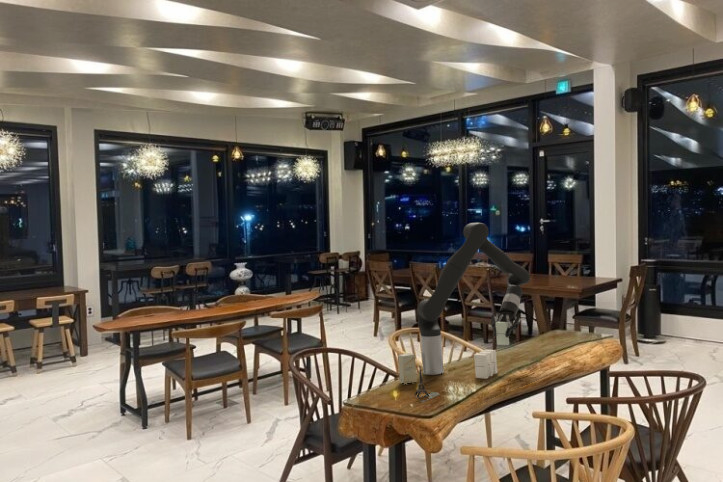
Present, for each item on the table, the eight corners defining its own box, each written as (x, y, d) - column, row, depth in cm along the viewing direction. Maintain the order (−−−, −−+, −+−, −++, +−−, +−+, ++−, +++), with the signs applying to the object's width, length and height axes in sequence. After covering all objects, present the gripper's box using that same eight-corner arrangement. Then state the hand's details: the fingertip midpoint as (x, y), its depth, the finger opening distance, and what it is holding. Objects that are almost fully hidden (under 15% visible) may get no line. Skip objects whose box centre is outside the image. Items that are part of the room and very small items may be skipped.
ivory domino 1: (486, 378, 239) (484, 355, 239) (475, 377, 242) (474, 354, 242) (488, 377, 240) (486, 354, 241) (477, 376, 244) (476, 353, 244)
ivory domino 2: (491, 376, 243) (489, 353, 243) (480, 375, 246) (478, 352, 246) (493, 375, 244) (491, 352, 244) (482, 374, 247) (480, 351, 247)
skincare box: (404, 385, 238) (402, 356, 238) (399, 383, 242) (397, 354, 242) (417, 382, 241) (415, 354, 241) (411, 380, 245) (409, 352, 245)
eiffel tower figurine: (423, 404, 211) (420, 368, 211) (401, 400, 217) (398, 366, 217) (444, 393, 222) (441, 360, 222) (422, 391, 229) (419, 358, 229)
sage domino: (507, 345, 248) (506, 322, 248) (497, 344, 252) (495, 322, 252) (509, 344, 250) (507, 322, 250) (498, 343, 253) (497, 321, 253)
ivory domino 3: (495, 373, 246) (494, 351, 246) (485, 373, 249) (483, 350, 249) (497, 373, 248) (495, 350, 248) (487, 372, 251) (485, 349, 251)
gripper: (492, 300, 261) (482, 330, 252) (522, 300, 252) (513, 331, 243) (498, 310, 265) (488, 340, 256) (527, 311, 256) (518, 342, 247)
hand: (500, 335), depth 249 cm, fingers closed on sage domino, 5 cm apart
